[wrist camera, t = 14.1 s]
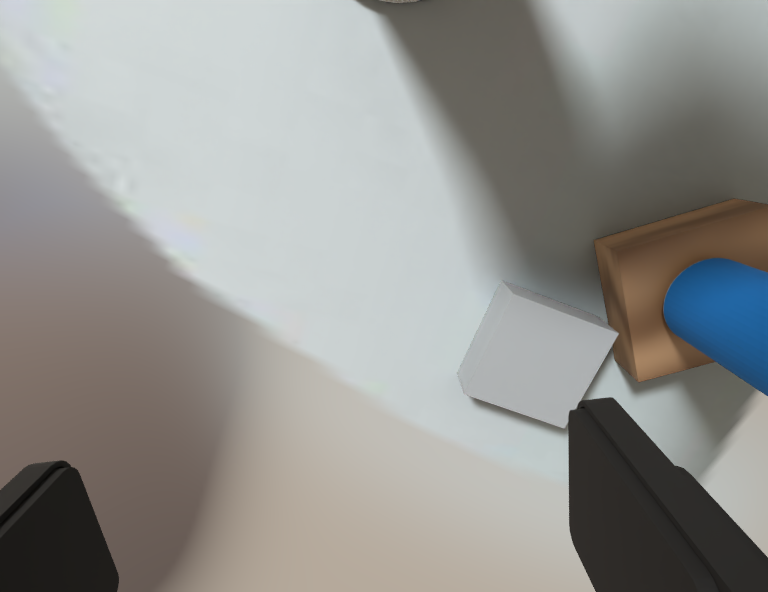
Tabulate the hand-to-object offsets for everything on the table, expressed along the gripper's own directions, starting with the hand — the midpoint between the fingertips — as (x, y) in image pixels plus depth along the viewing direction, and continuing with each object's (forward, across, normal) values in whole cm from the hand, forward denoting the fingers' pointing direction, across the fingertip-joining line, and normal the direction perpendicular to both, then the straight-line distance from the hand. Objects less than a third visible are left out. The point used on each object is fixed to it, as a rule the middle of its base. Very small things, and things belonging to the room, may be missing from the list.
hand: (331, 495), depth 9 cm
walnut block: (+30, -24, +8) cm, 39 cm away
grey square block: (+31, -12, +12) cm, 35 cm away
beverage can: (+26, -24, +8) cm, 37 cm away
